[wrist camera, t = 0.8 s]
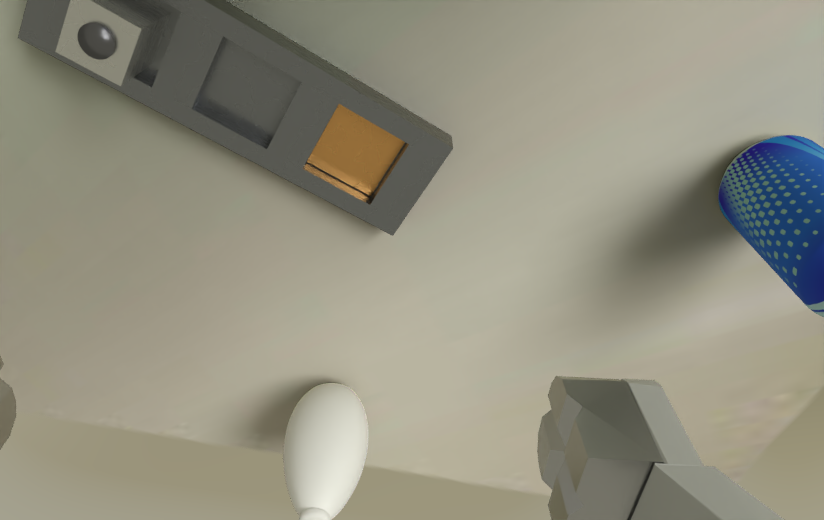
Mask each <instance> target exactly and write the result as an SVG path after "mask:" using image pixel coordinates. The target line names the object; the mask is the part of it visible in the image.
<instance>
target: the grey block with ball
mask: <svg viewBox="0 0 824 520" xmlns="http://www.w3.org/2000/svg"><path fill="white" fill-rule="evenodd" d="M170 14H171V12H170V11H168V10H166V9H165V8H163V7H161V6H159V5H158V4H156V3H154V2H152V1H151V0H70V4H69V7H68V10H67V14H66V17H65V21H64V24H63V28H62V31H61V34H60V38H59V41H58V45H57V48H56V51H55V52H57V53H59V54H60V55H62V56H64V57H66V58H68V59H70V60H72V61H74V62H75V63H77V64H79V65H81V66H83V67H85V68H87V69H89V70H91V71H92V72H94V73H96V74H98V75H100V76H102V77H104V78H106V79H108V80H109V81H111V82H113V83H115V84H117V85H119V86H122V85H124V84H125V83H126V82H128V81H129V80H131V79H132V78H133V77H135V76H136V75H138V74H139V73H140V72H142V71H143V70H145V69H146V68H147V67H149V66H150V65H151V64H152V62H153V59H154V57H155V54H156V51H157V49H158V46H159V43H160V41H161V38H162V35H163V33H164V30H165V28H166V25H167V22H168V20H169V17H170Z"/></svg>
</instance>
